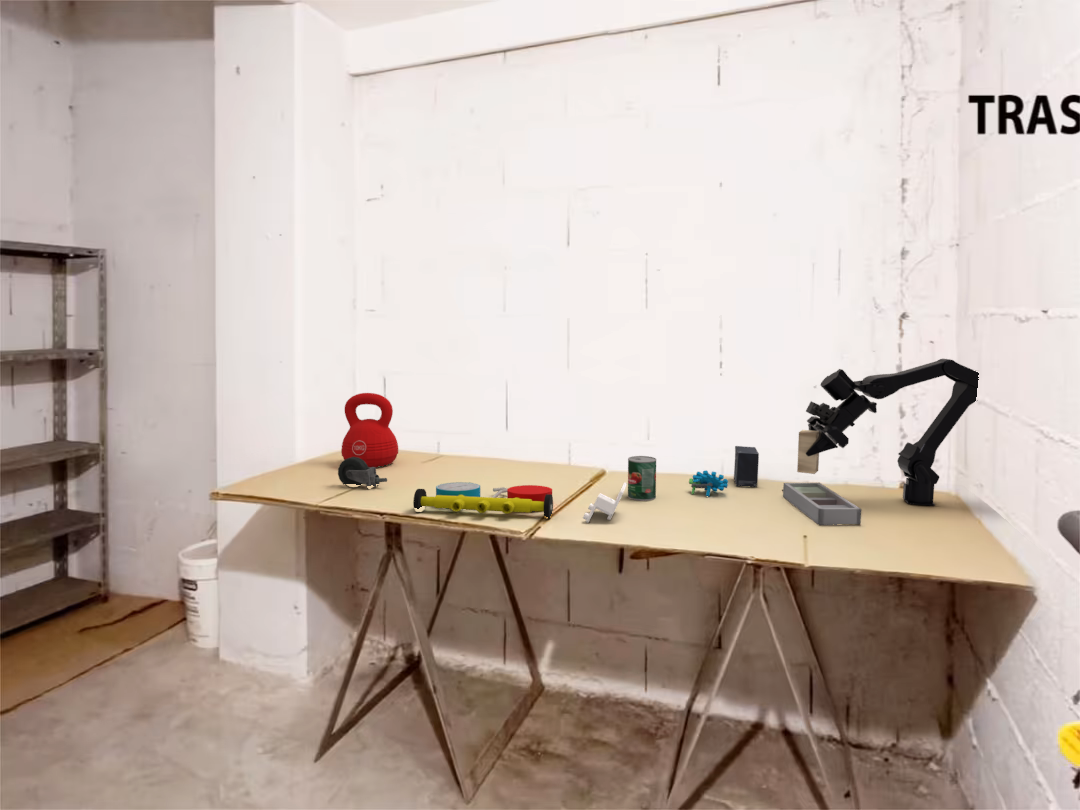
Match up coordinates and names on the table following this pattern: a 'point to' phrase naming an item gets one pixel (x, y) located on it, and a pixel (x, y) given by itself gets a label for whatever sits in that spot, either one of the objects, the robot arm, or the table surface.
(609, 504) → the mounting bracket
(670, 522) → the table surface
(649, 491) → the canned tomato
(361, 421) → the kettlebell
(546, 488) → the hvac manifold gauge set
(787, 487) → the tray
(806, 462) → the beech block
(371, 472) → the caster wheel
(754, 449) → the small box
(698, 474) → the blue spiky toy
